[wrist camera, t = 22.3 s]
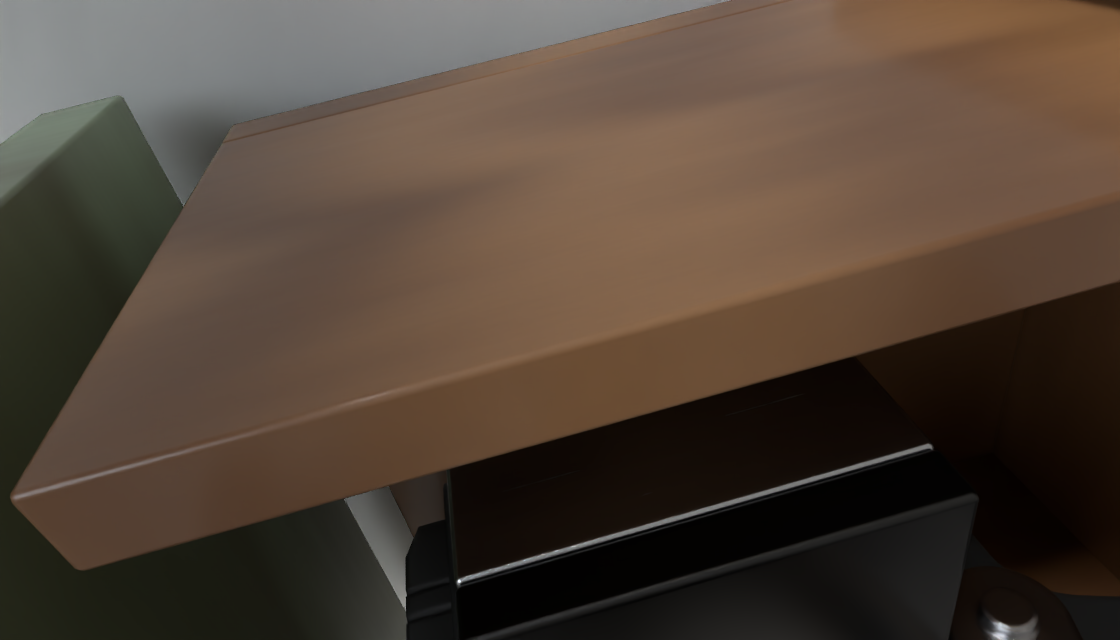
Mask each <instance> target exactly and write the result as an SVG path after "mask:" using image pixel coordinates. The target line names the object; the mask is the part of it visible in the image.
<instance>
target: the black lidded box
mask: <svg viewBox="0 0 1120 640" xmlns="http://www.w3.org/2000/svg"><path fill="white" fill-rule="evenodd" d="M446 473H447V487H448V500H449V514H450V528H451V541H452V555H453V569H454V582H455V584H456V586H457V592H456V608H457V621H458V635H459V640H948V638H949V633H950V629H951V624H952V620H953V615H954V611H955V606H956V602H957V597H958V593H959V588H960V584H961V579H962V575H963V570H964V566H965V561H966V557H967V552H968V548H969V543H970V539H971V534H972V530H973V525H974V521H975V516H976V512H977V507H978V503H979V498H978V495H977V492H976V490H975V489H974V488H973V487H972V486H971V485H970V484H969V483H968V482H967V480H966V479H965V478H964V477H963V476H962V475H961V474H960V473H959V472H958V470H957V469H956V468H955V467H954V466H953V465H952V464H951V463H950V462H949V460H948V459H947V458H946V457H945V456H944V455H943V454H942V453H941V452H939V451H938V450H934V446H933V443H932V441H931V440H930V439H929V438H928V437H927V436H926V435H925V433H924V432H923V431H922V430H921V429H920V428H919V427H918V426H917V425H916V423H915V422H914V421H913V420H912V419H911V418H910V417H909V416H908V415H907V413H906V412H905V411H904V410H903V409H902V408H901V407H900V406H899V405H898V403H897V402H896V401H895V400H894V399H893V398H892V397H891V396H890V395H889V393H888V392H887V391H886V390H885V389H884V388H883V387H882V386H881V385H880V383H879V382H878V381H877V380H876V379H875V378H874V377H873V376H872V375H871V373H870V372H869V371H868V370H867V369H866V368H865V367H864V366H863V365H862V363H861V362H860V361H859V360H858V359H857V358H856V357H855V356H853V357H850V358H846V359H843V360H839V361H836V362H832V363H828V364H825V365H821V366H818V367H814V368H810V369H807V370H803V371H800V372H796V373H792V374H789V375H785V376H782V377H778V378H775V379H771V380H767V381H764V382H760V383H757V384H753V385H749V386H746V387H742V388H739V389H735V390H731V391H728V392H724V393H721V394H717V395H714V396H710V397H706V398H703V399H699V400H696V401H692V402H688V403H685V404H681V405H678V406H674V407H671V408H667V409H663V410H660V411H656V412H653V413H649V414H645V415H642V416H638V417H635V418H631V419H627V420H624V421H620V422H617V423H613V424H610V425H606V426H602V427H599V428H595V429H592V430H588V431H584V432H581V433H577V434H574V435H570V436H566V437H563V438H559V439H556V440H552V441H549V442H545V443H541V444H538V445H534V446H531V447H527V448H523V449H520V450H516V451H513V452H509V453H506V454H502V455H498V456H495V457H491V458H488V459H484V460H480V461H477V462H473V463H470V464H466V465H462V466H459V467H455V468H452V469H448V470H446Z"/></svg>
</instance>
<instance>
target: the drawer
mask: <svg viewBox="0 0 1120 640" xmlns="http://www.w3.org/2000/svg"><path fill="white" fill-rule="evenodd" d="M853 356H855V357H856V358H857V359H858V360H859V361H860V362H861V363H862V365H863V366H864V367H865V368H866V369H867V370H868V371H869V372H870V373H871V375H872V376H873V377H874V378H875V379H876V380H877V381H878V382H879V383H880V385H881V386H882V387H883V388H884V389H885V390H886V391H887V392H888V393H889V395H890V396H891V397H892V398H893V399H894V400H895V401H896V402H897V403H898V405H899V406H900V407H901V408H902V409H903V410H904V411H905V412H906V413H907V415H908V416H909V417H910V418H911V419H912V420H913V421H914V422H915V423H916V425H917V426H918V427H919V428H920V429H921V430H922V431H923V432H924V433H925V435H926V436H927V437H928V438H929V439H930V440H931V441H932V443H933V446H934V450H938V451H939V452H941V453H942V454H943V455H944V456H945V457H946V458H947V459H948V460H949V462H950V463H951V464H952V465H953V466H954V467H955V468H956V469H957V470H958V472H959V473H960V474H961V475H962V476H963V477H964V478H965V479H966V480H967V482H968V483H969V484H970V485H971V486H972V487H973V488H974V489H975V490H976V492H977V495H978V498H979V503H978V507H977V512H976V516H975V521H974V525H973V530H972V534H973V535H974V536H975V538H976V539H977V540H978V541H979V542H980V544H981V545H982V546H983V547H984V548H985V550H986V551H987V552H988V553H989V554H990V555H991V556H992V557H993V558H994V559H995V560H996V561H997V562H998V563H999V564H1000V565H1001V566H1003V567H1004V568H1007V569H1010V570H1013V571H1017V572H1019V573H1022V574H1024V575H1026V576H1029V577H1031V578H1032V579H1034V580H1036V581H1038V582H1039V583H1041V584H1042V585H1044V586H1045V587H1046V588H1048V589H1049V590H1050V591H1054V592H1059V593H1064V594H1072V595H1092V596H1120V0H731V1H727V2H723V3H719V4H715V5H711V6H707V7H703V8H699V9H695V10H691V11H687V12H683V13H679V14H675V15H671V16H667V17H663V18H659V19H655V20H651V21H647V22H643V23H639V24H635V25H631V26H627V27H623V28H619V29H615V30H611V31H607V32H603V33H599V34H595V35H591V36H587V37H583V38H579V39H575V40H571V41H567V42H563V43H559V44H555V45H551V46H547V47H543V48H539V49H535V50H531V51H527V52H523V53H519V54H515V55H511V56H507V57H503V58H499V59H495V60H491V61H487V62H483V63H479V64H475V65H471V66H467V67H463V68H459V69H455V70H451V71H447V72H443V73H439V74H435V75H431V76H427V77H423V78H419V79H415V80H411V81H407V82H403V83H399V84H395V85H391V86H387V87H383V88H379V89H375V90H371V91H367V92H363V93H359V94H355V95H351V96H347V97H343V98H339V99H335V100H331V101H327V102H323V103H319V104H315V105H311V106H307V107H303V108H299V109H295V110H291V111H287V112H283V113H279V114H275V115H271V116H267V117H263V118H259V119H255V120H251V121H247V122H243V123H239V124H235V125H233V126H232V127H231V128H230V130H229V132H228V133H227V135H226V137H225V138H224V140H223V142H222V145H221V146H220V147H219V149H218V151H217V152H216V154H215V156H214V157H213V159H212V160H211V162H210V164H209V165H208V167H207V169H206V170H205V172H204V174H203V175H202V177H201V179H200V180H199V182H198V184H197V185H196V187H195V189H194V190H193V192H192V194H191V195H190V197H189V199H188V200H187V202H186V204H185V205H184V207H183V206H182V204H181V202H180V200H179V198H178V197H177V195H176V193H175V191H174V189H173V187H172V186H171V184H170V182H169V180H168V178H167V177H166V175H165V173H164V171H163V169H162V167H161V166H160V164H159V162H158V160H157V158H156V157H155V155H154V153H153V151H152V149H151V147H150V146H149V144H148V142H147V140H146V138H145V137H144V135H143V133H142V131H141V129H140V127H139V126H138V124H137V122H136V120H135V118H134V117H133V115H132V113H131V111H130V109H129V107H128V106H127V104H126V102H125V100H124V98H123V97H122V96H113V97H109V98H105V99H101V100H97V101H93V102H89V103H85V104H81V105H77V106H73V107H69V108H65V109H61V110H57V111H52V112H48V113H44V114H41V115H39V116H38V117H37V118H35V119H34V120H33V121H31V122H30V123H29V124H27V125H26V126H25V127H23V128H22V129H20V130H19V131H18V132H16V133H15V134H14V135H12V136H11V137H10V138H8V139H7V140H5V141H4V142H3V143H1V144H0V640H406V624H407V618H406V611H405V609H404V607H403V606H402V604H401V602H400V600H399V598H398V596H397V595H396V593H395V591H394V589H393V587H392V586H391V584H390V582H389V580H388V578H387V576H386V575H385V573H384V571H383V569H382V567H381V566H380V564H379V562H378V560H377V558H376V556H375V555H374V553H373V551H372V549H371V547H370V546H369V544H368V542H367V540H366V538H365V536H364V535H363V533H362V531H361V529H360V527H359V526H358V524H357V522H356V520H355V518H354V516H353V515H352V513H351V511H350V509H349V507H348V506H347V504H346V502H345V500H344V498H348V497H351V496H355V495H358V494H362V493H366V492H369V491H373V490H376V489H380V488H384V487H387V486H389V488H390V490H391V492H392V494H393V496H394V499H395V501H396V503H397V505H398V507H399V509H400V511H401V513H402V515H403V517H404V519H405V521H406V523H407V525H408V527H409V529H410V531H411V533H412V535H413V537H414V536H415V534H416V532H417V529H418V527H419V526H423V525H426V524H430V523H433V522H437V521H440V520H444V519H445V510H444V495H443V487H444V484H445V483H447V473H446V470H448V469H452V468H455V467H459V466H462V465H466V464H470V463H473V462H477V461H480V460H484V459H488V458H491V457H495V456H498V455H502V454H506V453H509V452H513V451H516V450H520V449H523V448H527V447H531V446H534V445H538V444H541V443H545V442H549V441H552V440H556V439H559V438H563V437H566V436H570V435H574V434H577V433H581V432H584V431H588V430H592V429H595V428H599V427H602V426H606V425H610V424H613V423H617V422H620V421H624V420H627V419H631V418H635V417H638V416H642V415H645V414H649V413H653V412H656V411H660V410H663V409H667V408H671V407H674V406H678V405H681V404H685V403H688V402H692V401H696V400H699V399H703V398H706V397H710V396H714V395H717V394H721V393H724V392H728V391H731V390H735V389H739V388H742V387H746V386H749V385H753V384H757V383H760V382H764V381H767V380H771V379H775V378H778V377H782V376H785V375H789V374H792V373H796V372H800V371H803V370H807V369H810V368H814V367H818V366H821V365H825V364H828V363H832V362H836V361H839V360H843V359H846V358H850V357H853Z"/></svg>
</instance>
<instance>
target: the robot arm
mask: <svg viewBox="0 0 1120 640" xmlns="http://www.w3.org/2000/svg"><path fill="white" fill-rule="evenodd" d="M443 495H444V510H445V519H444V520H440V521H437V522H433V523H430V524H426V525H423V526H419V527H418V529H417V532H416V534H415V536H414V539H413V541H412V544H411V546H410V549H409V551H408V553H407V556H406V592H407V597H406V618H407V624H406V640H459V635H458V621H457V608H456V592H457V586H456V584H455V582H454V569H453V555H452V541H451V528H450V514H449V500H448V487H447V483H445V484H444V487H443ZM948 640H1120V596H1092V595H1072V594H1064V593H1059V592H1054V591H1050V590H1049V589H1048V588H1046V587H1045V586H1044V585H1042V584H1041V583H1039V582H1038V581H1036V580H1034V579H1032V578H1031V577H1029V576H1026V575H1024V574H1022V573H1019V572H1017V571H1013V570H1010V569H1007V568H1004V567H1003V566H1001V565H1000V564H999V563H998V562H997V561H996V560H995V559H994V558H993V557H992V556H991V555H990V554H989V553H988V552H987V551H986V550H985V548H984V547H983V546H982V545H981V544H980V542H979V541H978V540H977V539H976V538H975V536H974V535H973V534H971V539H970V543H969V548H968V552H967V557H966V561H965V566H964V570H963V575H962V579H961V584H960V588H959V593H958V597H957V602H956V606H955V611H954V615H953V620H952V624H951V629H950V633H949V638H948Z"/></svg>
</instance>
